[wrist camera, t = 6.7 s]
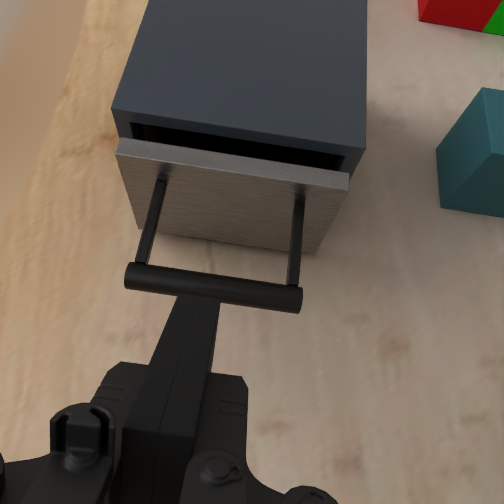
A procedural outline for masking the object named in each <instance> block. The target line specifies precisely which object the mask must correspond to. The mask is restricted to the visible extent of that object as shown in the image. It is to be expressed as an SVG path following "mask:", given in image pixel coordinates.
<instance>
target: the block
mask: <svg viewBox="0 0 504 504" xmlns="http://www.w3.org/2000/svg"><path fill="white" fill-rule="evenodd" d="M436 156H437V168H438V180H439V193H440V205H441V208H447V209H454V210H460V211H466V212H473V213H479V214H486V215H492V216H499V217H504V91H502V90H496V89H490V88H484V87H482V88H481V89H480V91H479V92H478V93H477V95H476V96H475V98H474V99H473V100H472V102H471V103H470V104H469V106H468V107H467V108H466V110H465V111H464V112H463V114H462V115H461V116H460V118H459V119H458V120H457V122H456V123H455V124H454V126H453V127H452V128H451V130H450V131H449V132H448V134H447V135H446V136H445V138H444V139H443V140H442V142H441V143H440V144H439V146H438V147H437V148H436Z"/></svg>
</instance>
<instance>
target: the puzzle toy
mask: <svg viewBox="0 0 504 504" xmlns="http://www.w3.org/2000/svg"><path fill="white" fill-rule="evenodd" d="M418 11H419V21H424V22H429V23H435V24H441V25H446V26H452V27H458V28H464V29H469V30H475V31H481V32H486V33H492V34H498V35H504V0H418Z"/></svg>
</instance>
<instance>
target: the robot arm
mask: <svg viewBox="0 0 504 504" xmlns="http://www.w3.org/2000/svg"><path fill="white" fill-rule="evenodd" d="M220 303H221V299H215V298H208V297H201V296H194V295H187V294H180V293H179V294H178V297H177V299H176V301H175V304H174V306H173V308H172V311H171V313H170V316H169V318H168V320H167V323H166V325H165V327H164V330H163V332H162V334H161V337H160V339H159V342H158V344H157V346H156V349H155V351H154V353H153V356H152V358H151V361H150V363H149V365H143V364H136V363H128V362H120V363H118V364H117V365H115V366H114V367H113V368H111V369H110V370H109V371H108V372H107V373H106V375H105V377H104V379H103V380H102V382H101V385H100V386H99V387H98V389H97V391H96V393H95V396H94V397H93V398H92V400H91V402H90V403H79V404H75V405H71V406H68V407H66V408H64V409H62V410H61V411H59V412H57V413H56V414H55V415H54V416H53V417H52V418H51V420H50V453H49V454H47V455H45V456H42V457H39V458H34V459H30V460H22V461H15V462H8V463H4V460H3V457H2V455H1V453H0V504H338V503H337V501H336V500H335V499H334V498H333V497H331V496H330V495H329V494H328V493H327V492H325V491H323V490H320V489H318V488H316V487H312V486H298V487H295V488H291V489H290V490H289V491H288V492H287V493H286V494H282V493H280V492H277V491H275V490H273V489H271V488H269V487H267V486H265V485H263V484H262V483H261V482H259V481H258V480H257V479H256V478H255V477H254V476H253V474H252V473H251V472H250V470H249V468H248V465H247V462H246V438H247V413H248V387H247V385H246V383H245V381H244V380H243V378H242V376H234V375H227V374H219V373H212V372H211V368H212V362H213V355H214V347H215V340H216V332H217V325H218V318H219V310H220Z"/></svg>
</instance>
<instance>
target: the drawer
mask: <svg viewBox="0 0 504 504" xmlns="http://www.w3.org/2000/svg"><path fill="white" fill-rule="evenodd" d="M143 129H144V134H145V139H146V141H144V140H137V139H131V138H125V137H120V140H119V143H118V146H117V149H116V152H115V156H116V159H117V162H118V166H119V169H120V172H121V175H122V178H123V181H124V185H125V188H126V191H127V194H128V197H129V200H130V204H131V207H132V210H133V213H134V216H135V219H136V223H137V226H138V229H142V230H143V231H142V235H141V239H140V243H139V246H138V250H137V254H136V257H135V262H129V264H128V266H127V268H126V271H125V276H124V286H125V288H126V289H131V290H138V291H145V292H152V293H158V294H165V295H172V296H178V294H179V293H180V294H187V295H194V296H201V297H208V298H215V299H221V303H226V304H233V305H240V306H247V307H253V308H260V309H267V310H274V311H281V312H287V313H294V314H299V312H300V310H301V306H302V300H303V289H302V287H298V285H299V274H300V261H301V254H307V255H315V253H316V251H317V249H318V247H319V246H320V244H321V242H322V240H323V238H324V236H325V234H326V232H327V230H328V229H329V227H330V225H331V223H332V221H333V219H334V217H335V215H336V213H337V212H338V210H339V208H340V206H341V204H342V202H343V200H344V198H345V197H346V195H347V193H348V191H349V173H347V172H341V171H334V170H328V167H329V165H330V163H331V160H332V158H333V156H334V154H330V153H324V152H317V151H311V150H305V149H299V148H292V147H286V146H280V145H273V144H267V143H261V142H254V141H248V140H242V139H235V138H229V137H223V136H217V135H210V134H204V133H198V132H191V131H185V130H179V129H172V128H166V127H160V126H153V125H147V124H143ZM156 232H162V233H169V234H175V235H182V236H188V237H195V238H202V239H208V240H215V241H221V242H228V243H235V244H241V245H248V246H254V247H261V248H268V249H274V250H281V251H287V252H289V258H288V268H287V279H286V285H283V284H276V283H270V282H263V281H256V280H249V279H243V278H236V277H229V276H223V275H216V274H209V273H203V272H196V271H189V270H182V269H176V268H169V267H162V266H156V265H149V264H148V261H149V257H150V254H151V250H152V246H153V242H154V238H155V234H156Z"/></svg>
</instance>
